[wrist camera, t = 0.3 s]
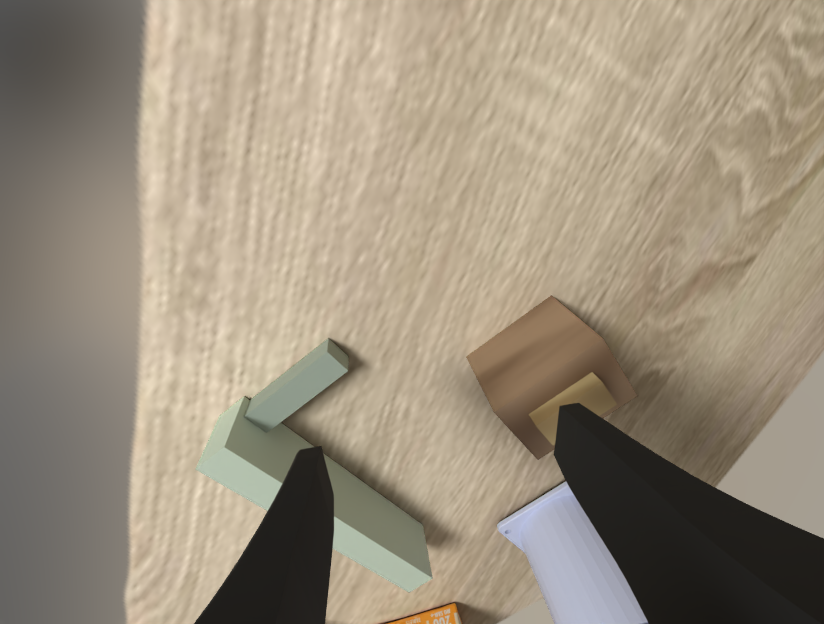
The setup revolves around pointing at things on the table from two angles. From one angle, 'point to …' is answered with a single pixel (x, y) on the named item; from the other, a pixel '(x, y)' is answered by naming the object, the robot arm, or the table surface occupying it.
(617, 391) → the brown block
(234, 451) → the green l-shaped block
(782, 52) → the table surface
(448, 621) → the supplement box
